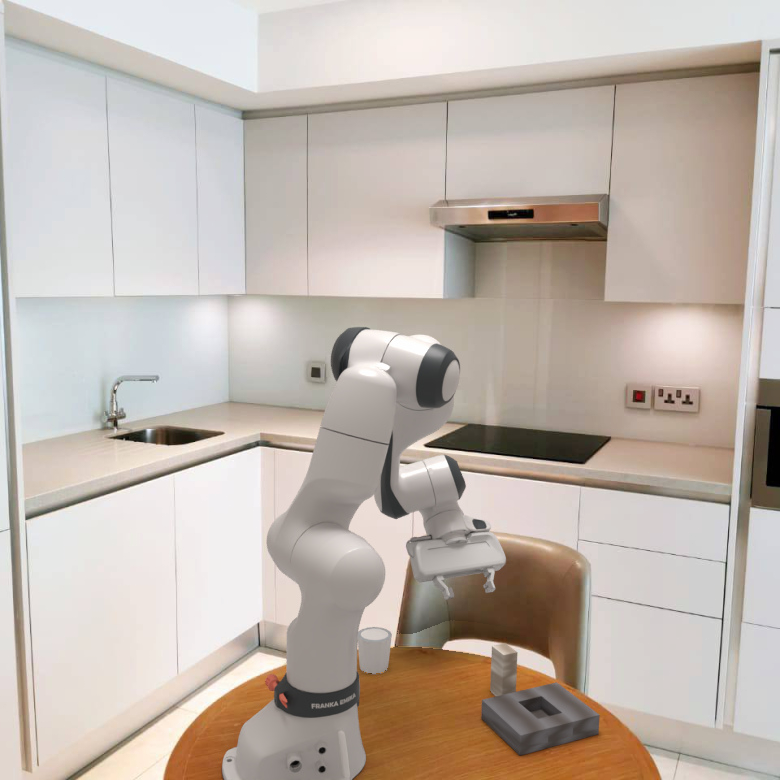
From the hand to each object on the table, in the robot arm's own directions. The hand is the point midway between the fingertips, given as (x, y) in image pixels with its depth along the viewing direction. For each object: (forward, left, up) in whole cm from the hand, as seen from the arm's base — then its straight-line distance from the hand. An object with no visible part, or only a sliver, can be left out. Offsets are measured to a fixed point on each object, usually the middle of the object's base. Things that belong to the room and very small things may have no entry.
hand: (470, 594), depth 155 cm
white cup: (-18, +6, -15) cm, 24 cm away
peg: (0, -13, -15) cm, 19 cm away
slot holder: (0, -24, -15) cm, 28 cm away
